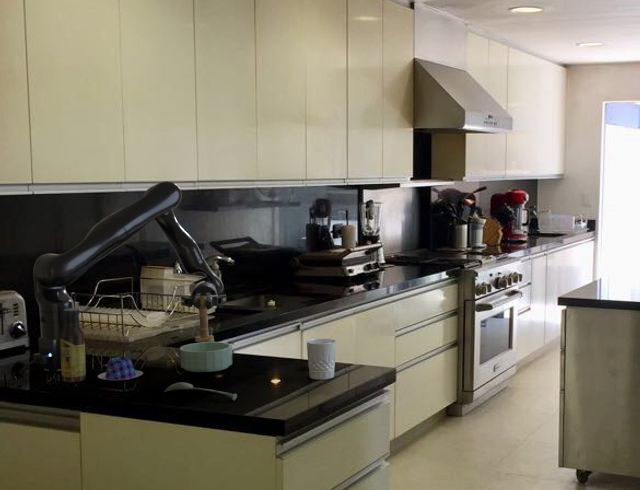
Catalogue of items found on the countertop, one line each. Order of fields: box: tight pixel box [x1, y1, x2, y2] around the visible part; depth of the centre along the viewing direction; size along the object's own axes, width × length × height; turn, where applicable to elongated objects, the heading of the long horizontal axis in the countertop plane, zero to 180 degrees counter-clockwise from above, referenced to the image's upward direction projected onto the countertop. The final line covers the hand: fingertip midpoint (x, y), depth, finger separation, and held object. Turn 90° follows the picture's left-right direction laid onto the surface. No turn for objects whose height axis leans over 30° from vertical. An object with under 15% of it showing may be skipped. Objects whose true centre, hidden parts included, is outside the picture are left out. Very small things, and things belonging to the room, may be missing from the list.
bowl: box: [179, 341, 234, 373], centre depth 268 cm, size 15×15×6 cm
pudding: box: [97, 356, 144, 382], centre depth 257 cm, size 12×12×5 cm
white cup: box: [306, 338, 337, 381], centre depth 254 cm, size 8×8×10 cm
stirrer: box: [194, 296, 215, 343], centre depth 267 cm, size 5×5×13 cm
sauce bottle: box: [60, 307, 87, 384], centre depth 252 cm, size 7×6×20 cm
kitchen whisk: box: [191, 321, 216, 342], centre depth 299 cm, size 6×34×6 cm, turn 22°
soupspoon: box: [163, 381, 238, 401], centre depth 235 cm, size 22×3×7 cm
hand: (202, 304), depth 264 cm, fingers closed on stirrer
